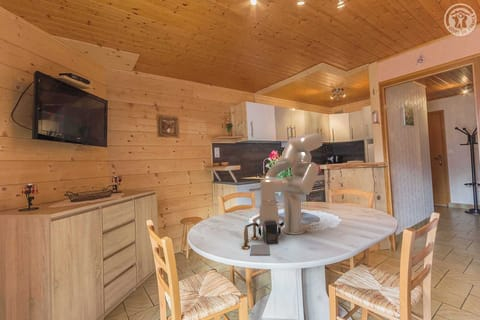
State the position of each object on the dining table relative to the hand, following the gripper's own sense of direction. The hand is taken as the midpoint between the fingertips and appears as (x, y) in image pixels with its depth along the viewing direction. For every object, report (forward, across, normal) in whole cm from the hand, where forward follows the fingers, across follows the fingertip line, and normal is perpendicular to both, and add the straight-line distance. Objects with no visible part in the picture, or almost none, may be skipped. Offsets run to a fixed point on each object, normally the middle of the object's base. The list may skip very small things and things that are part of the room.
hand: (269, 235), depth 120 cm
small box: (+3, 0, 0) cm, 3 cm away
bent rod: (+3, +10, +4) cm, 11 cm away
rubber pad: (+3, +5, +12) cm, 14 cm away
